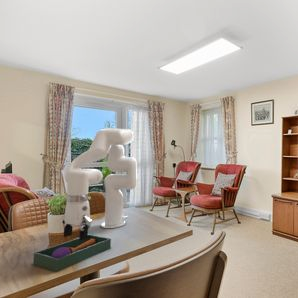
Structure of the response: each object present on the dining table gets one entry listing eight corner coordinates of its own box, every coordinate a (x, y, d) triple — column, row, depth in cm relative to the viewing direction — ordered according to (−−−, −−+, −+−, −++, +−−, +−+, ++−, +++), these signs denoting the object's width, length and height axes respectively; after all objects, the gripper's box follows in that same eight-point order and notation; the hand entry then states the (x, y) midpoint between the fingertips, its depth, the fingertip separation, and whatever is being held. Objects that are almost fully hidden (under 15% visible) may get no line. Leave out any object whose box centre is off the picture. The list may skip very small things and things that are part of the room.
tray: (89, 243, 113) (89, 234, 113) (110, 248, 109) (110, 238, 109) (33, 264, 92) (33, 252, 92) (56, 271, 87) (57, 259, 87)
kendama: (99, 237, 110) (63, 252, 90) (96, 249, 110) (59, 267, 90) (88, 234, 111) (49, 248, 91) (85, 246, 110) (45, 263, 90)
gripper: (99, 198, 101) (98, 237, 101) (72, 195, 107) (70, 232, 106) (82, 202, 94) (80, 243, 94) (54, 198, 100) (52, 237, 99)
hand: (75, 237), depth 100 cm, fingers open, 9 cm apart
